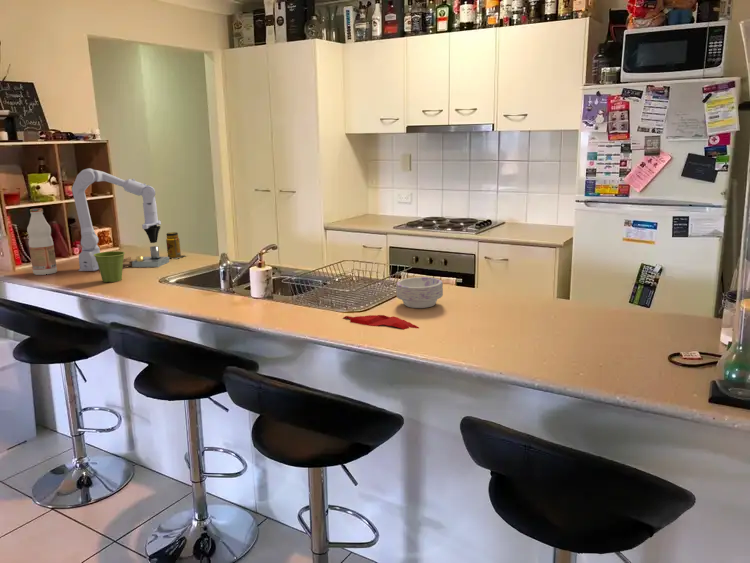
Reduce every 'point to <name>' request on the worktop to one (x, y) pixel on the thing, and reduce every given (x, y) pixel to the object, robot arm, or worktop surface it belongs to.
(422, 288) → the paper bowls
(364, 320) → the cloth
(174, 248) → the condiment
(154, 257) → the silver metal cylinder
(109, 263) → the plant pot
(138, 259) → the pin
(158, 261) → the socket block
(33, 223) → the fruit juice
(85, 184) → the robot arm
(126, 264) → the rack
